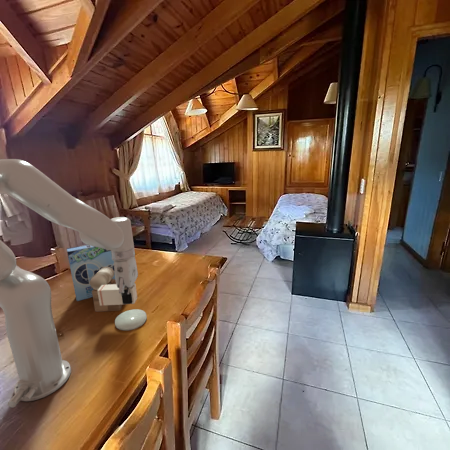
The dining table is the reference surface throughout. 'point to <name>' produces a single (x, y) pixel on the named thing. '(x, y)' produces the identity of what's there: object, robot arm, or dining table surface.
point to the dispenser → (99, 279)
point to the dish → (130, 319)
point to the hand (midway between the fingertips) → (129, 299)
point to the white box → (114, 294)
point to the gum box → (87, 267)
